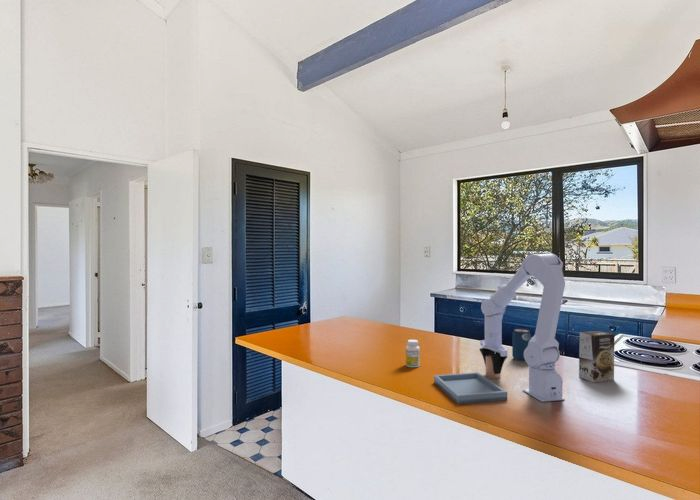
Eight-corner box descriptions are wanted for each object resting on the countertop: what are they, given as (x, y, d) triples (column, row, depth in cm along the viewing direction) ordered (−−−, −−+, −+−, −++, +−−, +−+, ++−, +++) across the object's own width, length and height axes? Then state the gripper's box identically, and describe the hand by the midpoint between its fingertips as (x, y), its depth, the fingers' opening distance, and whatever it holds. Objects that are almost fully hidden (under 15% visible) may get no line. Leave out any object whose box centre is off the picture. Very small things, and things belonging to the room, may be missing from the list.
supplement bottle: (410, 362, 154) (410, 338, 154) (422, 365, 151) (422, 340, 151) (403, 365, 150) (403, 340, 150) (415, 368, 147) (415, 343, 147)
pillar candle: (503, 378, 136) (503, 358, 136) (490, 379, 135) (490, 359, 135) (495, 373, 141) (495, 354, 141) (482, 374, 140) (482, 355, 140)
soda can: (532, 362, 153) (533, 332, 153) (514, 361, 155) (514, 331, 155) (528, 357, 160) (528, 328, 160) (510, 356, 162) (510, 327, 161)
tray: (507, 400, 117) (507, 391, 117) (457, 404, 114) (457, 395, 114) (477, 379, 135) (477, 372, 135) (434, 382, 132) (434, 375, 132)
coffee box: (594, 383, 131) (594, 335, 130) (578, 376, 137) (578, 331, 137) (615, 380, 133) (615, 333, 133) (598, 374, 139) (598, 329, 139)
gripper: (472, 329, 144) (472, 365, 144) (493, 338, 130) (493, 378, 130) (490, 328, 145) (490, 364, 146) (512, 337, 131) (512, 377, 131)
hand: (493, 370), depth 138 cm, fingers closed on pillar candle, 5 cm apart
